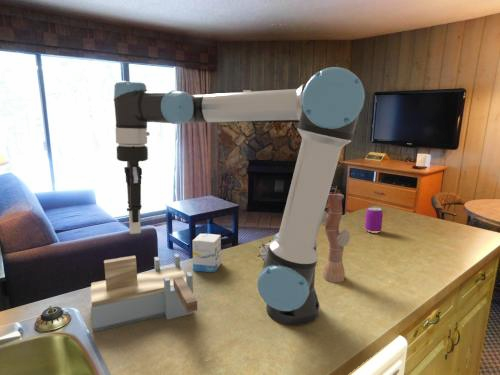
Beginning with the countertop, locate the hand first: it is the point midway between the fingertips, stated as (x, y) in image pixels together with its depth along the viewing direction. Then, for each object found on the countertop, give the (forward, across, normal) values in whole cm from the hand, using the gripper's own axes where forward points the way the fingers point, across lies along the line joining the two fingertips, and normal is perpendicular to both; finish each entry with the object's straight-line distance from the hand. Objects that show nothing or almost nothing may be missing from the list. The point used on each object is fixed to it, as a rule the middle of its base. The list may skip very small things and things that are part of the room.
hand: (135, 232), depth 89 cm
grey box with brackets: (+24, +1, -1) cm, 24 cm away
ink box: (+24, +20, -27) cm, 41 cm away
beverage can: (+22, +26, -115) cm, 120 cm away
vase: (+22, -5, -64) cm, 68 cm away
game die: (+23, +15, -50) cm, 57 cm away
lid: (+17, +1, -1) cm, 17 cm away
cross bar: (+15, -13, -10) cm, 22 cm away
